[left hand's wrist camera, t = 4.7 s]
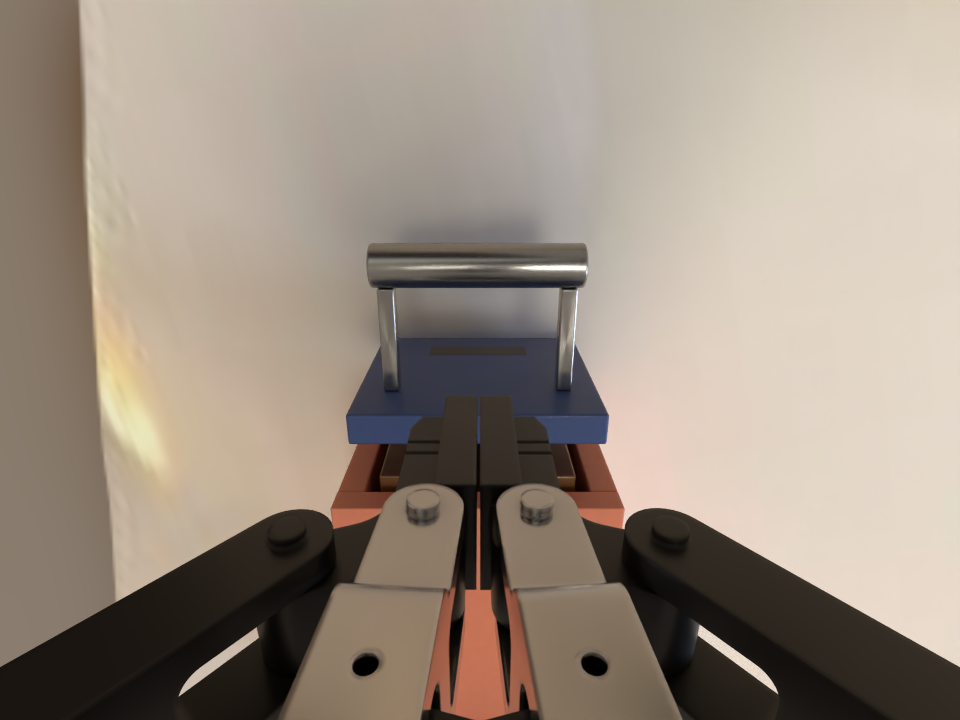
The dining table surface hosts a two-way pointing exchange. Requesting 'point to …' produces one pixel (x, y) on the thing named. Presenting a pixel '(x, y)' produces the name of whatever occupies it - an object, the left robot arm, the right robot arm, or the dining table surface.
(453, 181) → the dining table surface
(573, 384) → the drawer
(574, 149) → the dining table surface
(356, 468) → the cabinet
